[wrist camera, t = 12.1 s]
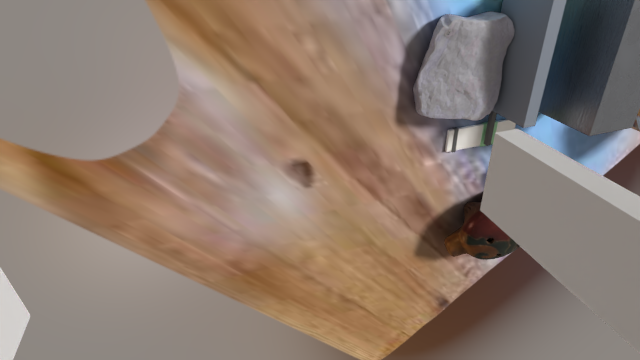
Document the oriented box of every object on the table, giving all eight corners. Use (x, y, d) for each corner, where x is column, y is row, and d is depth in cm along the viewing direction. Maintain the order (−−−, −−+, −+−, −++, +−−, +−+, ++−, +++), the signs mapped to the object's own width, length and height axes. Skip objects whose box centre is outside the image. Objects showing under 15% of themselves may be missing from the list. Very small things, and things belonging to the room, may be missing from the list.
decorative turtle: (530, 197, 62) (569, 232, 56) (446, 251, 64) (474, 290, 58) (516, 157, 56) (557, 191, 50) (424, 218, 58) (452, 257, 52)
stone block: (402, 111, 50) (479, 111, 51) (413, 125, 46) (497, 125, 47) (416, 8, 44) (502, 10, 45) (430, 12, 40) (525, 15, 41)
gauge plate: (506, -18, 43) (556, -12, 37) (518, -19, 43) (569, -13, 38) (477, 142, 53) (514, 167, 47) (487, 140, 53) (525, 164, 47)
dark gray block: (557, -33, 44) (643, -27, 36) (601, -37, 45) (694, -32, 37) (525, 105, 53) (589, 136, 44) (563, 98, 54) (632, 127, 46)
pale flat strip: (447, 129, 51) (449, 130, 50) (515, 116, 53) (517, 118, 53) (444, 151, 52) (446, 153, 52) (510, 138, 55) (512, 140, 54)
